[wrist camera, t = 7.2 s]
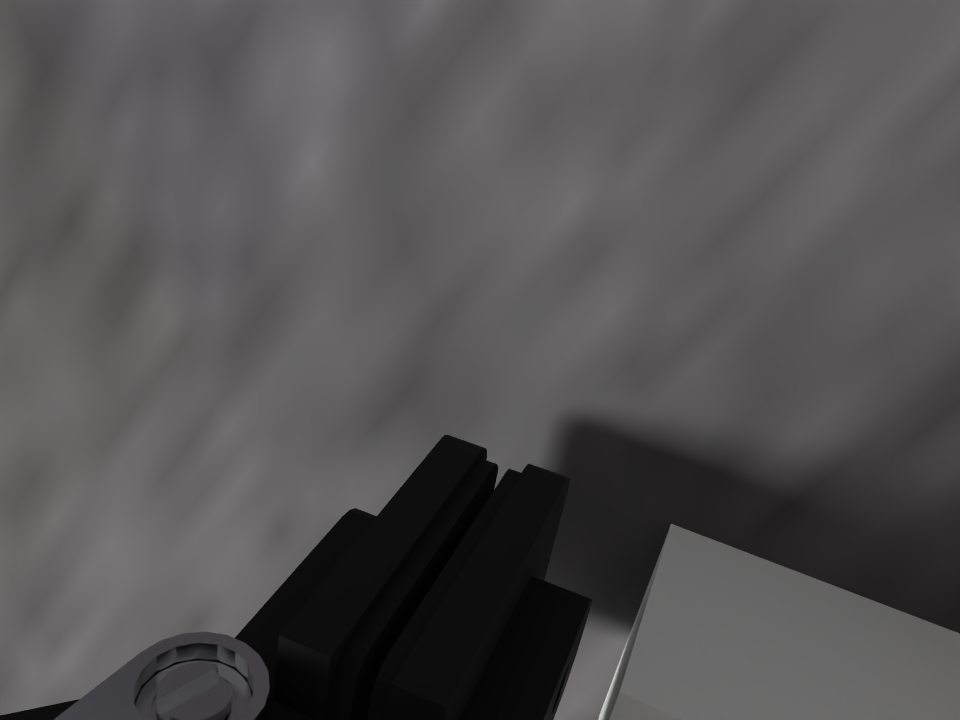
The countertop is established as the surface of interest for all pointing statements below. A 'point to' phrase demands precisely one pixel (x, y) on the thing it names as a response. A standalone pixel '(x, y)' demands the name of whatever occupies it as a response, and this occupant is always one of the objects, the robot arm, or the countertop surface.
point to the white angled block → (774, 647)
